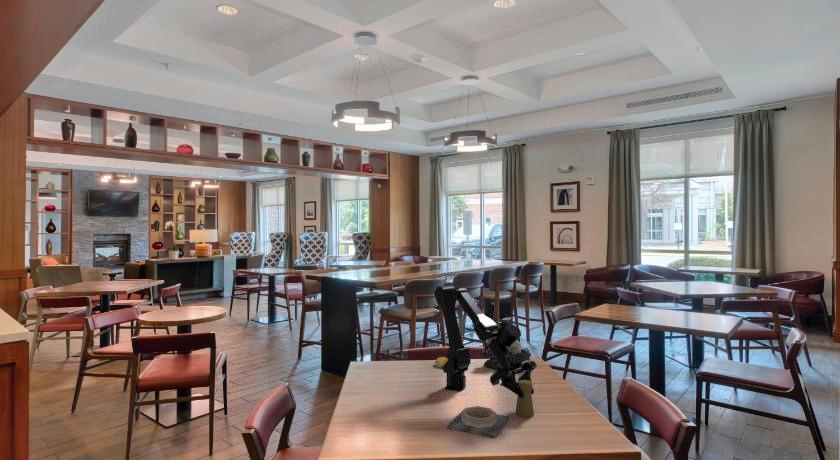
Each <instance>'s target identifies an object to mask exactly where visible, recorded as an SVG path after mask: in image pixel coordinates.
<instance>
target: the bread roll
mask: <svg viewBox="0 0 840 460" xmlns="http://www.w3.org/2000/svg"><path fill="white" fill-rule="evenodd" d="M447 361H448V358H447V357H444V356H439V357H438V358H436V359H435V361H434V364H435V367H436V368H439V369H443V365H444V364H445V363H446V362H447Z"/></svg>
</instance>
